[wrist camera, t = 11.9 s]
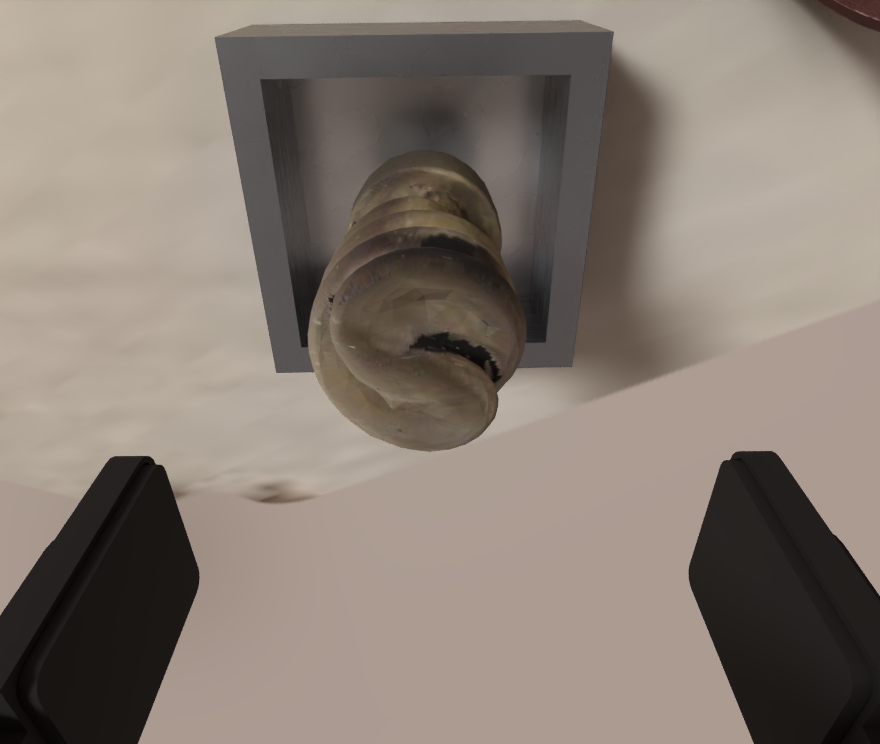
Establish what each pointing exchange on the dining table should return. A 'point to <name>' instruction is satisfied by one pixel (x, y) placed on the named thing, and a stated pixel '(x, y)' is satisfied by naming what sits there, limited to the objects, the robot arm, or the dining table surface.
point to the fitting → (412, 129)
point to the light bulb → (418, 307)
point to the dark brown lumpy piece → (857, 11)
